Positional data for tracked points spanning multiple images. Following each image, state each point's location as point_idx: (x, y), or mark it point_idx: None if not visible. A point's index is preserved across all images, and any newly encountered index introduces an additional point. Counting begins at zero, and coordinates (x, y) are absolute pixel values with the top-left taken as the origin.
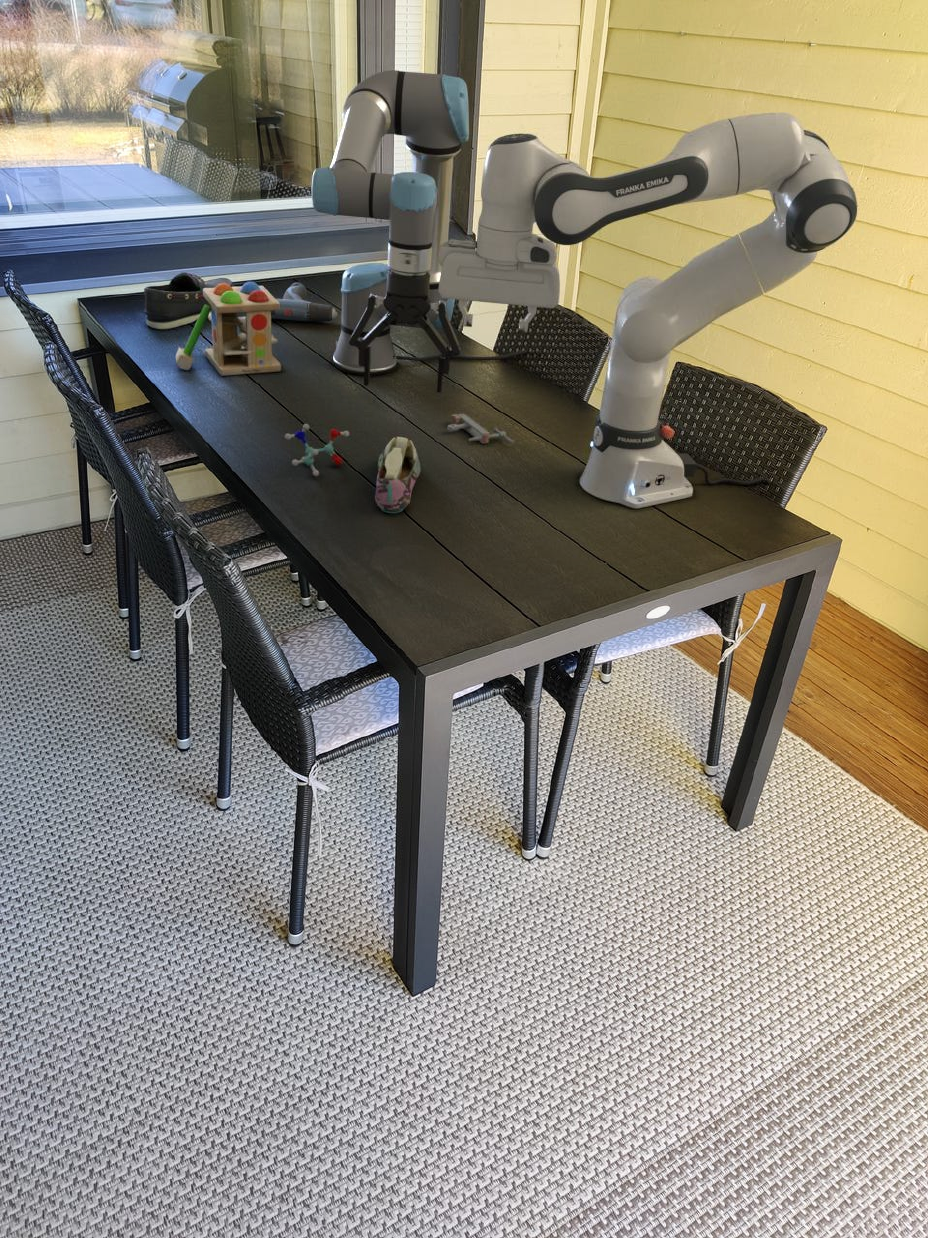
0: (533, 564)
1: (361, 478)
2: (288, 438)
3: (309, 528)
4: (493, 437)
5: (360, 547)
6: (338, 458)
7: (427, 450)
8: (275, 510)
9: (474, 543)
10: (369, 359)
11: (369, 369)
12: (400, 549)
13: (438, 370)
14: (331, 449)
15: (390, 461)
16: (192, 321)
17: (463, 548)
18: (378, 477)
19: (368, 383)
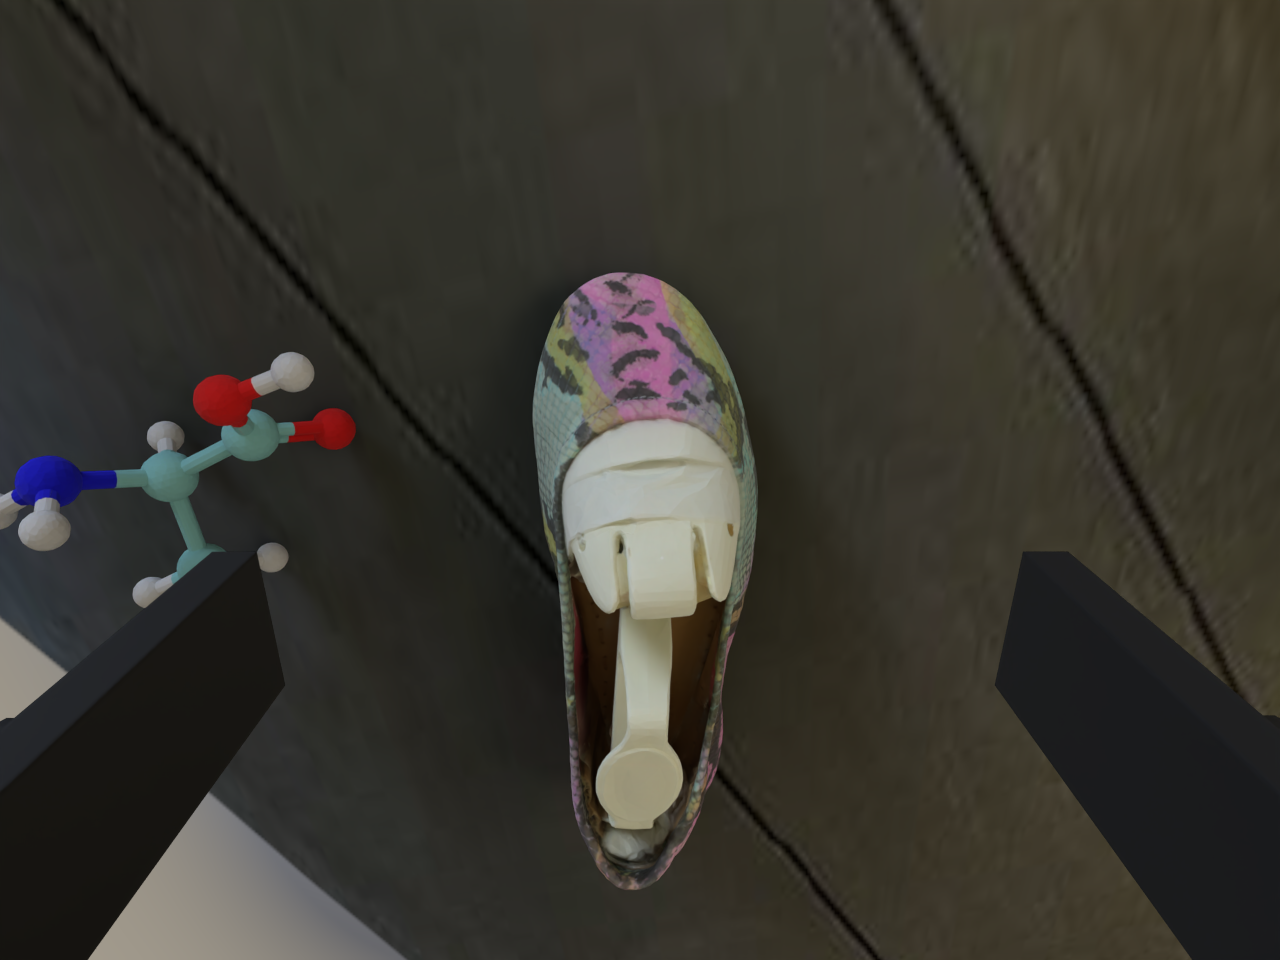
0: (1116, 954)
1: (481, 520)
2: (7, 524)
3: (391, 887)
4: None
5: (577, 951)
6: (327, 439)
7: (785, 105)
8: (237, 810)
9: (944, 884)
10: (91, 836)
11: (184, 687)
12: (701, 944)
13: (1144, 887)
14: (268, 452)
15: (623, 789)
16: None
17: (903, 913)
18: (579, 805)
19: (274, 649)
